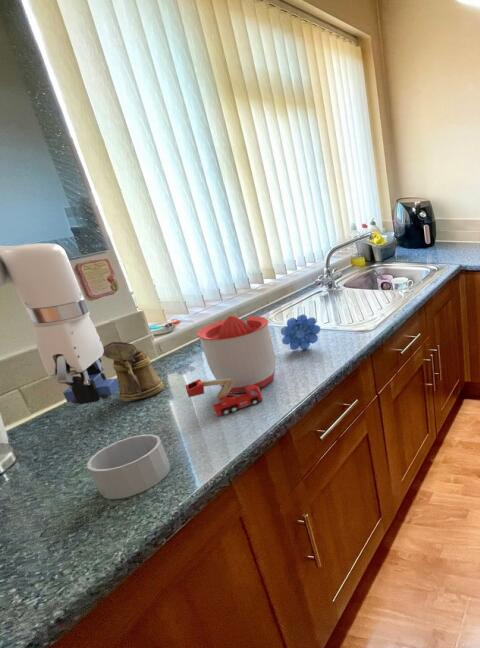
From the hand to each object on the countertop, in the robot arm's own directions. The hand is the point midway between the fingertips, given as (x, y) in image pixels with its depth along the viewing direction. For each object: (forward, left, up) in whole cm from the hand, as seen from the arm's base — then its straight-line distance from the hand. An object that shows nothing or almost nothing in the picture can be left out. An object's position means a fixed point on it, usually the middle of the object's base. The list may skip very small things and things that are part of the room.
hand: (94, 396), depth 81 cm
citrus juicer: (+21, +21, -13) cm, 33 cm away
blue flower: (+34, +39, -13) cm, 54 cm away
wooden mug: (-4, +24, -13) cm, 28 cm away
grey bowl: (+7, -13, -13) cm, 20 cm away
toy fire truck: (+19, +7, -13) cm, 24 cm away
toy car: (0, 0, 0) cm, 0 cm away
